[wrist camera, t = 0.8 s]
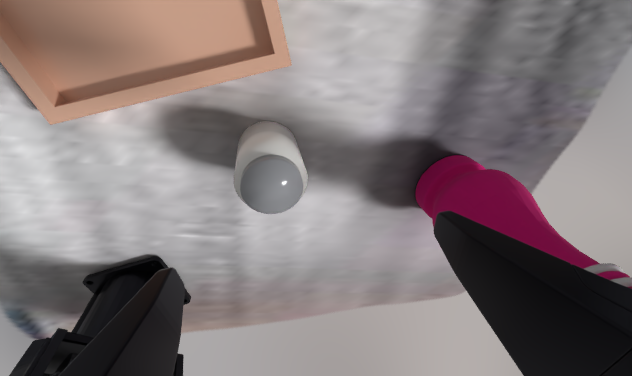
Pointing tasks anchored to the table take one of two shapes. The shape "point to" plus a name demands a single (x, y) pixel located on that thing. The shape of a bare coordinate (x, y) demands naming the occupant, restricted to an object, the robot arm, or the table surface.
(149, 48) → the tray
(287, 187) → the cylinder
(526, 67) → the table surface
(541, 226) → the pepper mill
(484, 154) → the table surface
